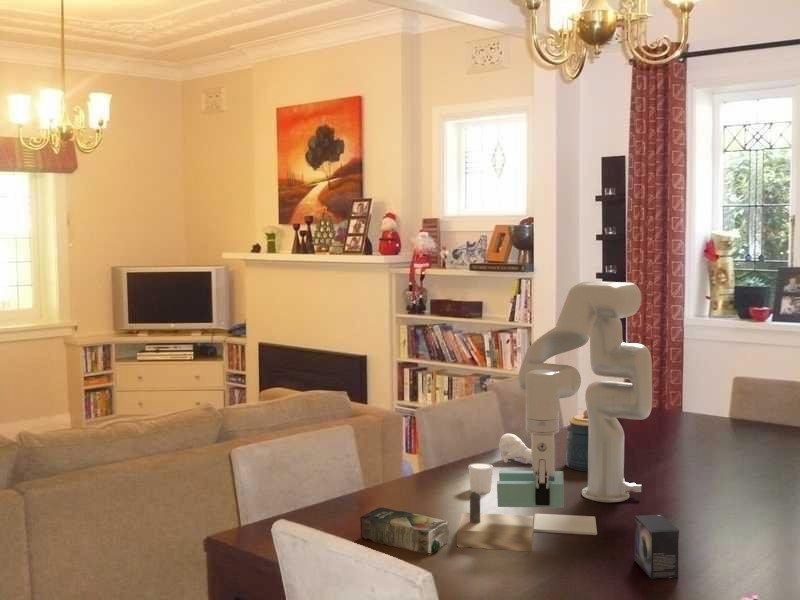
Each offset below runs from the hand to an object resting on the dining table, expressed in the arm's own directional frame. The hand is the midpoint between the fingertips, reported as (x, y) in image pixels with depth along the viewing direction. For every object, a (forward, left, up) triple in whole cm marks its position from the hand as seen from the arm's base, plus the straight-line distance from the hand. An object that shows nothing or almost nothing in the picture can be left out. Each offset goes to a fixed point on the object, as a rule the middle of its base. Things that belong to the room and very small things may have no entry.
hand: (542, 502), depth 208 cm
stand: (+11, -3, -10) cm, 15 cm away
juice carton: (+32, +1, -11) cm, 34 cm away
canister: (-12, -72, -11) cm, 74 cm away
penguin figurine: (+9, -74, -11) cm, 76 cm away
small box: (-24, +10, -11) cm, 28 cm away
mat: (-5, -16, -10) cm, 20 cm away
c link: (+2, -4, -1) cm, 4 cm away
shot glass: (+18, -42, -11) cm, 47 cm away
